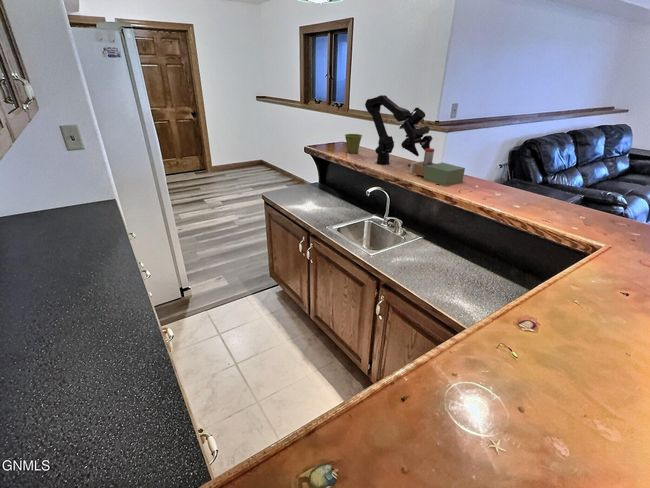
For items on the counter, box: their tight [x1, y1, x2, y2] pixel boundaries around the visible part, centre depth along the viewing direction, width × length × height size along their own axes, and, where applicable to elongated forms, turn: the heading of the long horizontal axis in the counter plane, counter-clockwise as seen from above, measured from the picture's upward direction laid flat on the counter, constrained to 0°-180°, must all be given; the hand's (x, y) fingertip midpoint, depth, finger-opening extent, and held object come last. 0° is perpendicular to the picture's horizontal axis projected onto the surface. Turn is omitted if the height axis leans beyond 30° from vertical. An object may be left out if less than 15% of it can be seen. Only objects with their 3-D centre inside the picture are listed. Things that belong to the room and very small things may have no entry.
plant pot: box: [344, 133, 363, 154], centre depth 234 cm, size 12×12×11 cm
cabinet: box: [423, 162, 466, 187], centre depth 176 cm, size 14×14×7 cm
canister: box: [423, 147, 435, 166], centre depth 182 cm, size 5×5×12 cm
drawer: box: [407, 160, 436, 177], centre depth 185 cm, size 17×12×5 cm
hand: (424, 155), depth 183 cm, fingers open, 9 cm apart
